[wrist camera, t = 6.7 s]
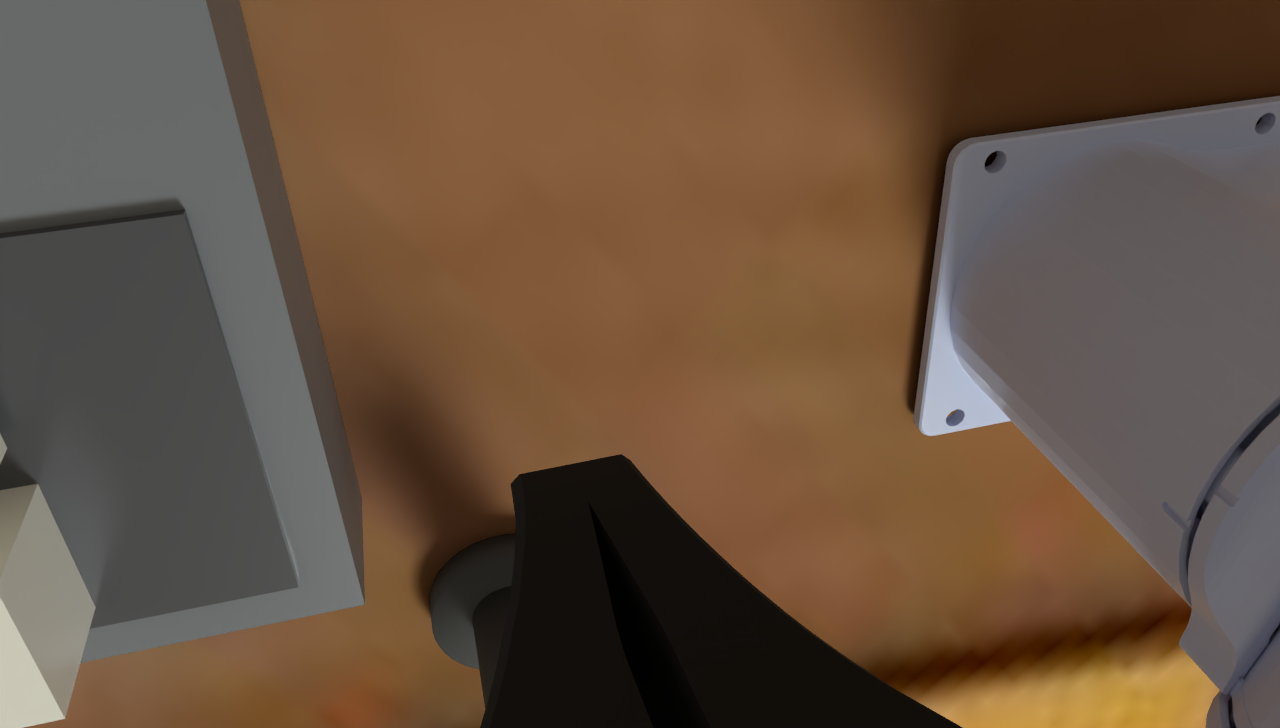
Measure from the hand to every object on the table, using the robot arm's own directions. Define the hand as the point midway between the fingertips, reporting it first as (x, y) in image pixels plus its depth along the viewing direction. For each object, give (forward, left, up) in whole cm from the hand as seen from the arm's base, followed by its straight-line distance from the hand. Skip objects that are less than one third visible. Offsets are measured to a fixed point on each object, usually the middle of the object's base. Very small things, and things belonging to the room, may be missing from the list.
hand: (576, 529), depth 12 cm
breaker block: (+7, 0, -10) cm, 13 cm away
